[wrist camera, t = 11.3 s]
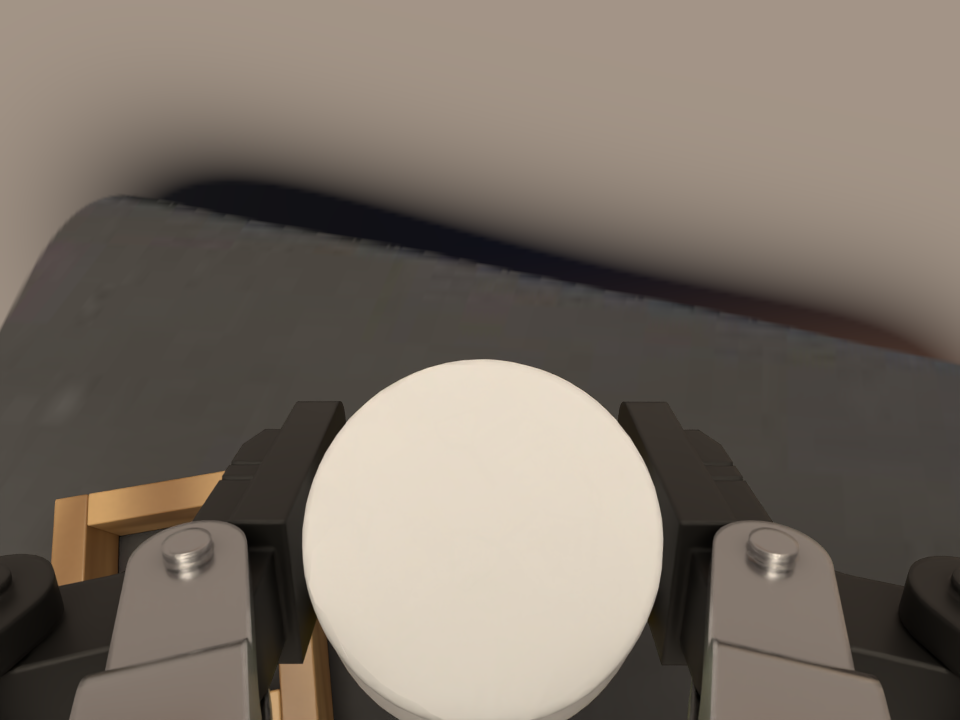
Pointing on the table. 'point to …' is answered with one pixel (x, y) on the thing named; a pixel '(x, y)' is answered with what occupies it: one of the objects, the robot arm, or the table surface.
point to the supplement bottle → (482, 545)
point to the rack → (107, 515)
